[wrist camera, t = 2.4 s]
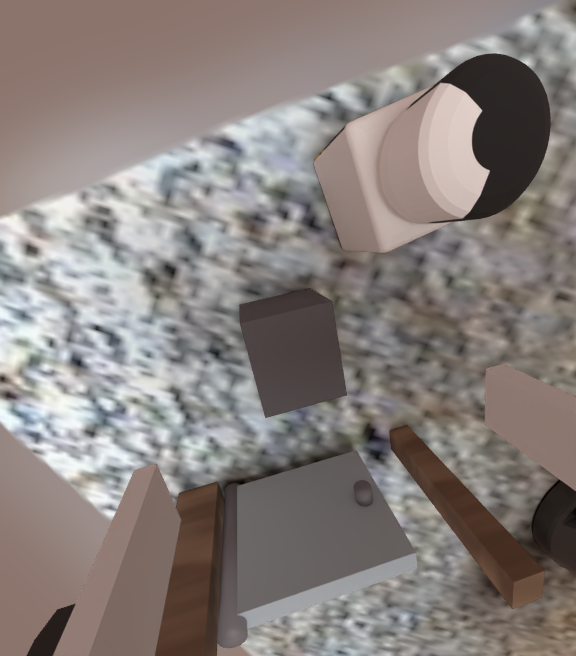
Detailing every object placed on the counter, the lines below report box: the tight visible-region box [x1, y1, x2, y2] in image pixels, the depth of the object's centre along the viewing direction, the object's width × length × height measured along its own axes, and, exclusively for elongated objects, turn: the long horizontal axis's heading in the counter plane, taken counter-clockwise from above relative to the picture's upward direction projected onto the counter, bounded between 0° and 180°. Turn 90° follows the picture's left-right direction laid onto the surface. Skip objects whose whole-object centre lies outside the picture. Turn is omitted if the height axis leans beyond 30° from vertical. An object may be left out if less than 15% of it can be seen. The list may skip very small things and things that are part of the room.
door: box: [217, 450, 417, 648], centre depth 23 cm, size 3×13×11 cm, turn 101°
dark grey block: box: [239, 288, 347, 418], centre depth 22 cm, size 7×6×6 cm
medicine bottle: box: [314, 54, 550, 253], centre depth 17 cm, size 7×7×12 cm
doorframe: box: [155, 425, 545, 656], centre depth 22 cm, size 2×24×14 cm, turn 102°
